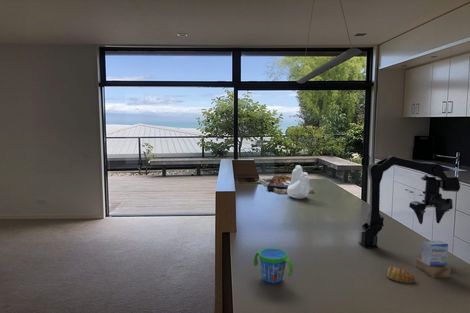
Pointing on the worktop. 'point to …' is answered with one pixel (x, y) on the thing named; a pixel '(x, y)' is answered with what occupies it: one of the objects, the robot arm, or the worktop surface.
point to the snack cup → (273, 264)
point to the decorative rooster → (298, 183)
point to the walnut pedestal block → (434, 269)
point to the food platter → (279, 182)
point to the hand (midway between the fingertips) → (429, 223)
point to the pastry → (400, 275)
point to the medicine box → (434, 253)
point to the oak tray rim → (264, 182)
